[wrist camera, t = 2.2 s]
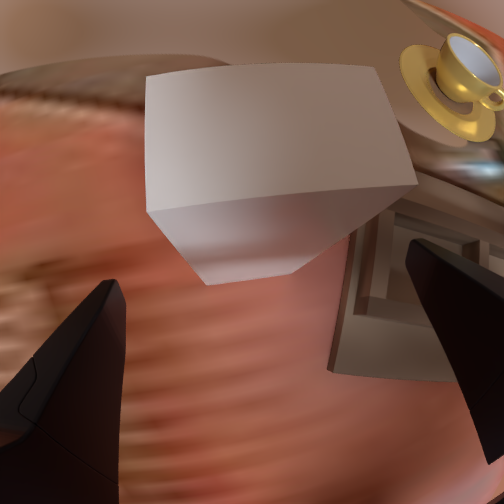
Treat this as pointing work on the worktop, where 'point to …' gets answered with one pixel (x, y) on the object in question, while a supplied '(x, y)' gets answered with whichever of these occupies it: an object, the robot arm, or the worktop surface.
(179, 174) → the clay block
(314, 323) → the worktop surface
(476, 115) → the cup
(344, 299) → the rack
